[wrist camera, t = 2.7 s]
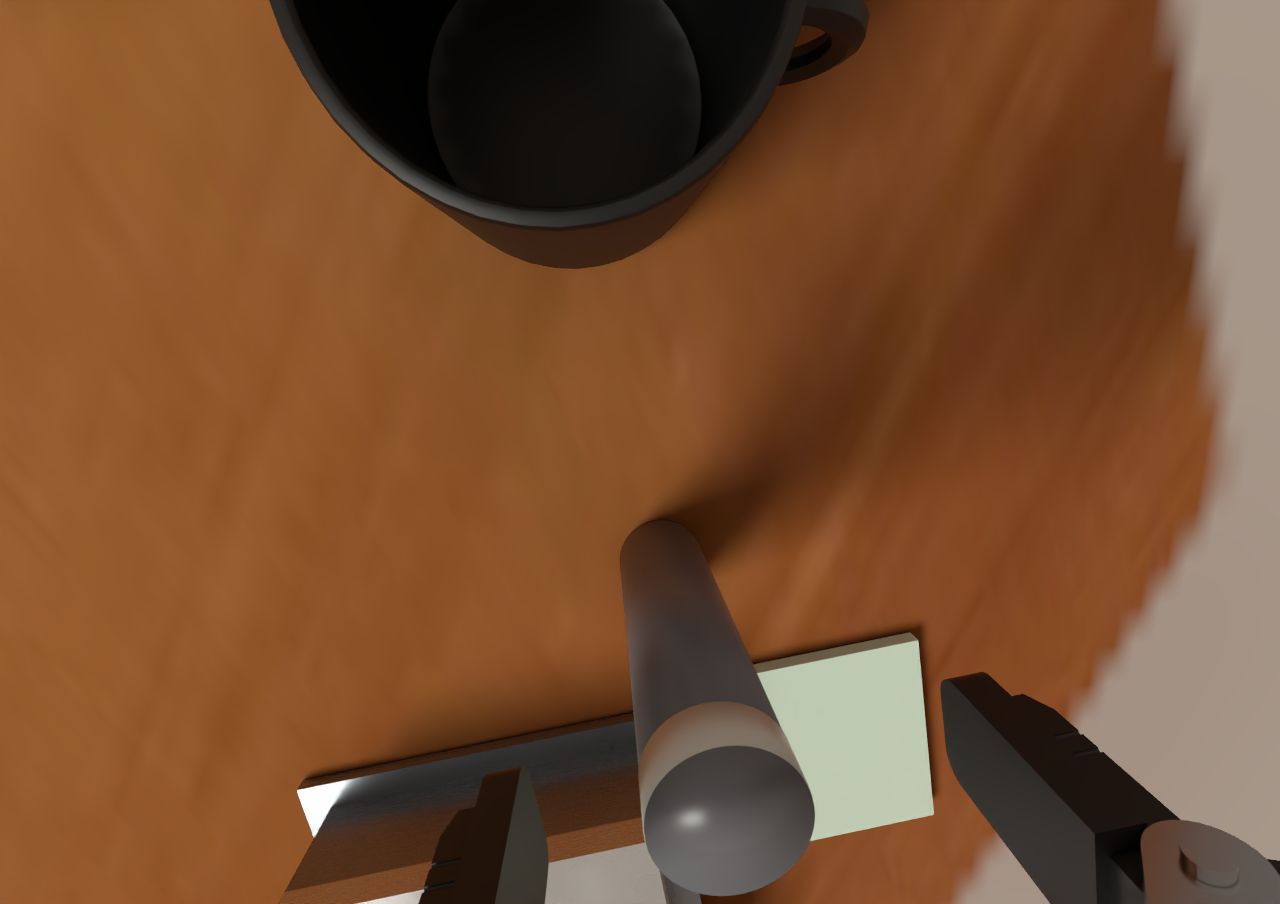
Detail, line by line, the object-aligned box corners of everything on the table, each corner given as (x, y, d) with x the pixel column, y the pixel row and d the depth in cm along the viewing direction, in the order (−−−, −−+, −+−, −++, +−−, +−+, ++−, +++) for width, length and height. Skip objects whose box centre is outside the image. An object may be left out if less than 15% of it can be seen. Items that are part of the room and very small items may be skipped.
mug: (794, 262, 20) (945, 217, 12) (430, 275, 20) (294, 238, 11) (799, -65, 18) (987, -422, 9) (394, -63, 18) (189, -446, 9)
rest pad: (738, 843, 25) (742, 855, 25) (708, 673, 23) (711, 682, 23) (926, 803, 25) (933, 814, 25) (910, 632, 24) (918, 640, 23)
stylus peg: (627, 604, 23) (659, 912, 11) (612, 528, 22) (628, 769, 10) (707, 588, 23) (825, 877, 11) (694, 512, 22) (805, 732, 10)
